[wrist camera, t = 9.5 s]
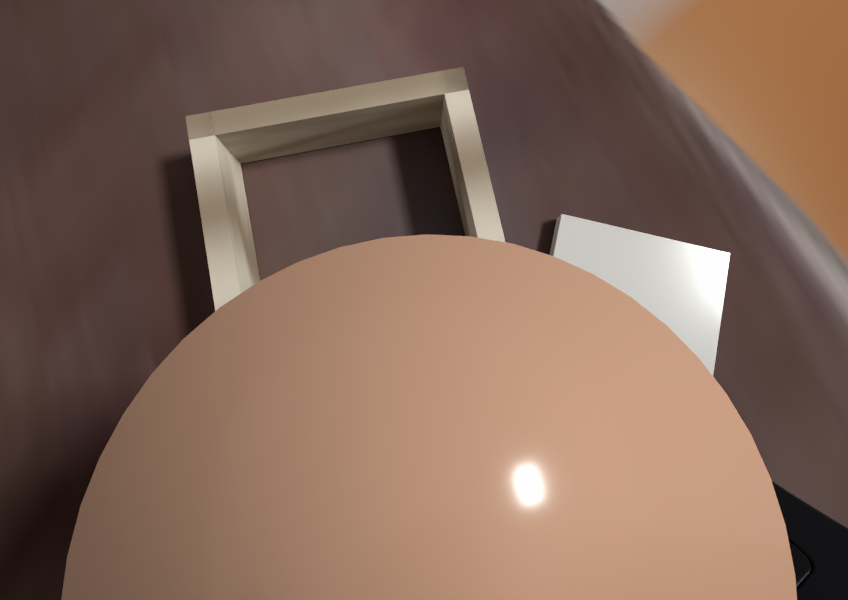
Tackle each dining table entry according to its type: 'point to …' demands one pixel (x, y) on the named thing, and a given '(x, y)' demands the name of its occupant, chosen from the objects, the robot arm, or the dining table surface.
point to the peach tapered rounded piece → (431, 446)
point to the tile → (653, 276)
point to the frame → (321, 128)
